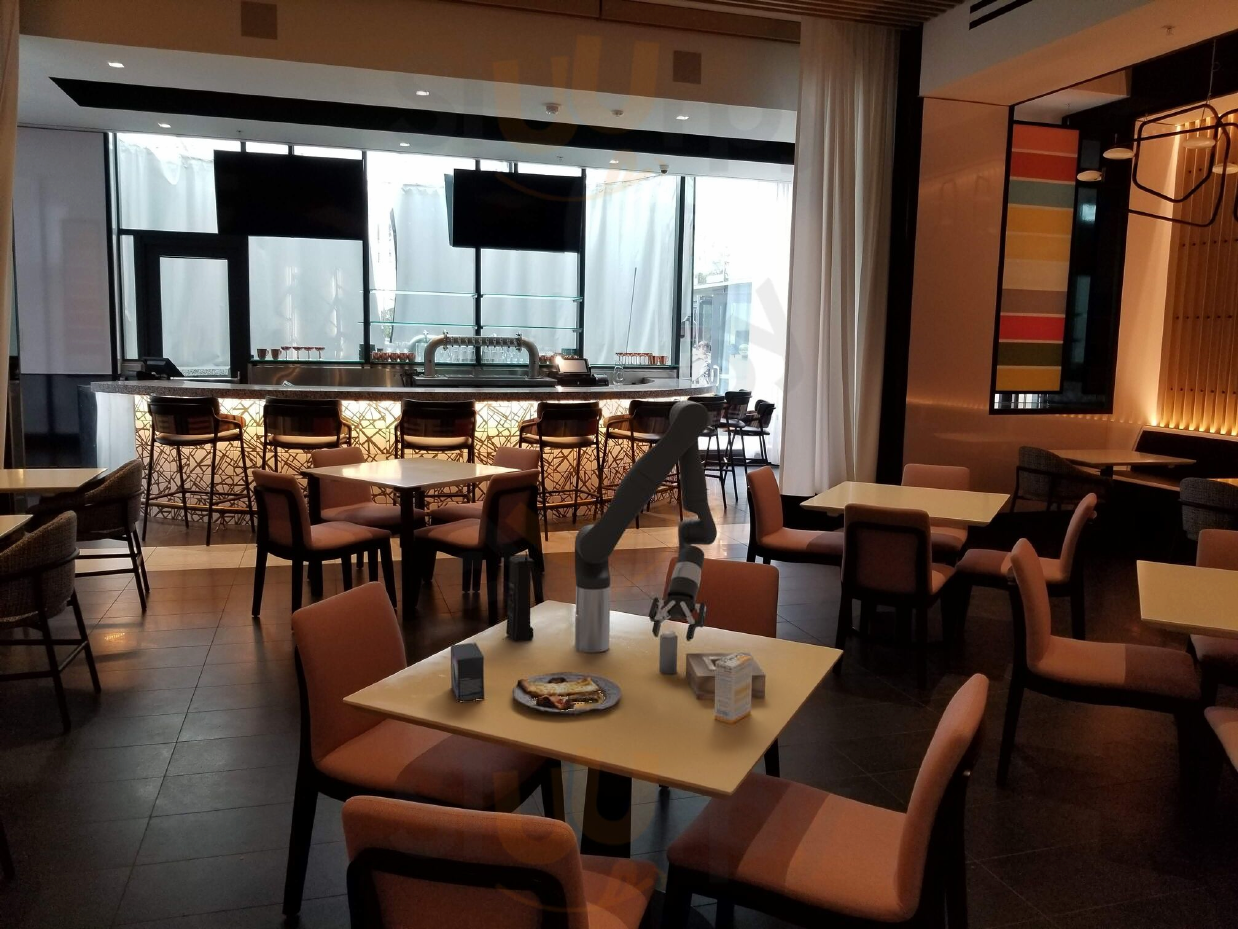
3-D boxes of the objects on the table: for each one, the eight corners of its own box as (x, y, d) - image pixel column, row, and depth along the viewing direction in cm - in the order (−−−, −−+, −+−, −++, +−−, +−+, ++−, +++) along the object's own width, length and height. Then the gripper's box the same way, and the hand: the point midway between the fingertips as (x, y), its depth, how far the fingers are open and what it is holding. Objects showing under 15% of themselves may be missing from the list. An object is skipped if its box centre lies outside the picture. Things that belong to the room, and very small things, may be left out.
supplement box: (733, 708, 203) (734, 651, 201) (751, 713, 200) (753, 656, 198) (712, 719, 197) (714, 661, 195) (731, 725, 193) (733, 666, 192)
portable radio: (504, 634, 254) (504, 547, 251) (524, 632, 256) (524, 546, 253) (513, 642, 247) (513, 553, 244) (533, 640, 249) (534, 551, 246)
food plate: (520, 722, 193) (521, 706, 192) (504, 685, 215) (505, 671, 215) (632, 715, 199) (633, 699, 199) (605, 680, 222) (606, 666, 221)
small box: (449, 687, 213) (449, 644, 212) (476, 684, 215) (476, 641, 214) (456, 703, 203) (456, 658, 202) (485, 700, 205) (485, 655, 204)
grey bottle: (660, 674, 224) (661, 635, 223) (658, 668, 228) (659, 629, 227) (677, 674, 224) (678, 635, 223) (675, 668, 229) (676, 629, 227)
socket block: (696, 699, 208) (697, 674, 207) (685, 674, 224) (686, 652, 223) (764, 697, 209) (765, 673, 209) (748, 674, 225) (749, 651, 224)
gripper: (656, 573, 236) (641, 627, 227) (708, 577, 232) (696, 633, 222) (661, 588, 242) (648, 641, 233) (713, 593, 237) (701, 648, 228)
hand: (671, 637), depth 227 cm, fingers open, 8 cm apart
